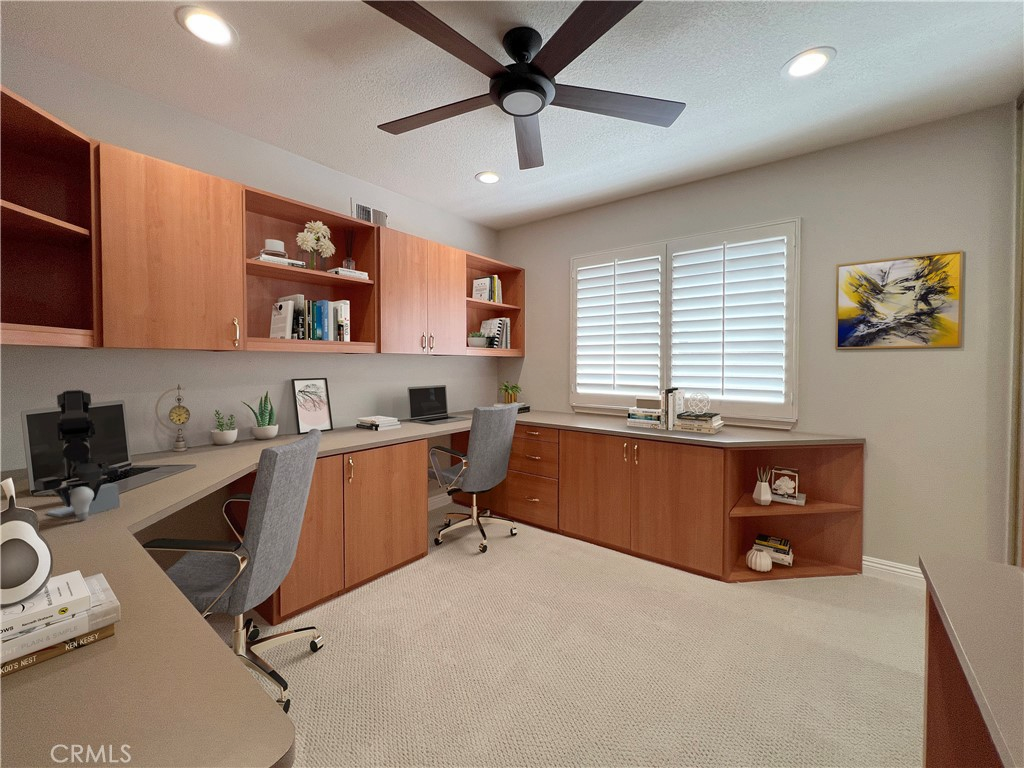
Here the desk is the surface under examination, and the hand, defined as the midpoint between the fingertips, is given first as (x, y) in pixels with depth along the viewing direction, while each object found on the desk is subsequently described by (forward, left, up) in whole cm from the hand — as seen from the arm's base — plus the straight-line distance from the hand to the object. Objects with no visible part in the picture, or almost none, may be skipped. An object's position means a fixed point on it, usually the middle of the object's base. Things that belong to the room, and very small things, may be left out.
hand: (81, 503), depth 137 cm
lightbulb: (0, 0, -6) cm, 6 cm away
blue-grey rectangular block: (-6, +7, -6) cm, 11 cm away
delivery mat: (-15, +4, -6) cm, 16 cm away
